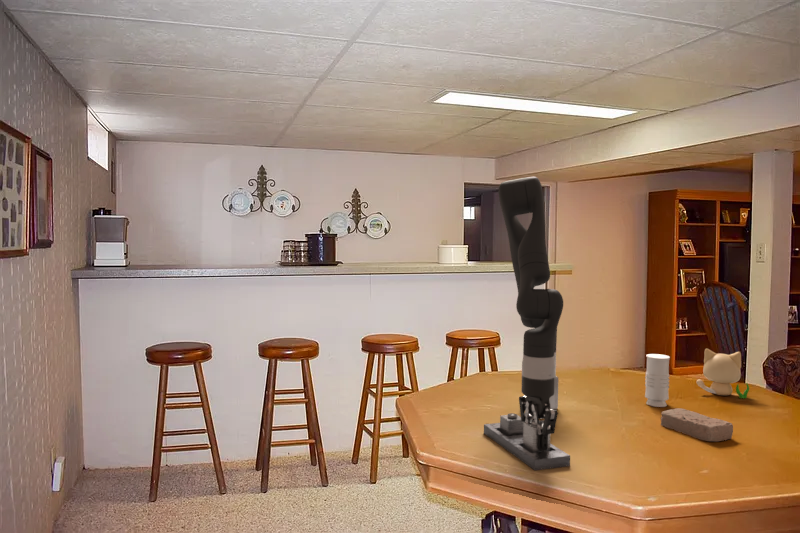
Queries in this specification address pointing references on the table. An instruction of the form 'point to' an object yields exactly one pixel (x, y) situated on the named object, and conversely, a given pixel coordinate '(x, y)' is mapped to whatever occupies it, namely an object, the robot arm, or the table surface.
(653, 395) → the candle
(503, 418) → the knobbed grey cube
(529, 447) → the cube with silver knob
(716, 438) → the brick
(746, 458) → the table surface
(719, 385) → the kitten
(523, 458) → the grey slotted board
